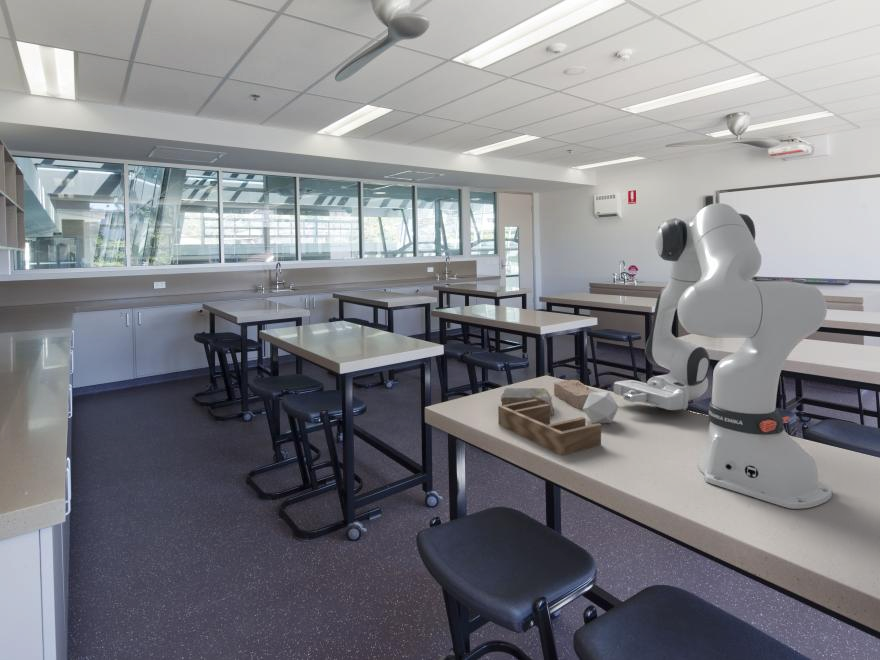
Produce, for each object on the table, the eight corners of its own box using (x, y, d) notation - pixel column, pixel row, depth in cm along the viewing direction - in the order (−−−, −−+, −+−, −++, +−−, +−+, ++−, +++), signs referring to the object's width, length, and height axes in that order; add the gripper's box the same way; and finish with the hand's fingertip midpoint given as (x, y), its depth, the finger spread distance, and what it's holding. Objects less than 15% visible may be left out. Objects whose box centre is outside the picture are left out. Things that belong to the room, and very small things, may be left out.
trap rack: (600, 444, 122) (601, 424, 121) (561, 455, 116) (561, 434, 116) (534, 416, 144) (534, 399, 143) (498, 424, 138) (498, 406, 137)
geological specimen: (500, 387, 157) (551, 385, 155) (502, 407, 157) (552, 405, 155) (499, 396, 146) (553, 394, 144) (501, 417, 147) (554, 415, 145)
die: (612, 431, 133) (628, 398, 134) (582, 414, 134) (598, 382, 135) (602, 432, 141) (617, 401, 143) (573, 416, 142) (589, 385, 143)
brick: (603, 407, 151) (604, 392, 151) (577, 410, 149) (578, 394, 149) (576, 393, 167) (576, 379, 167) (552, 395, 165) (552, 381, 165)
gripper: (633, 373, 157) (599, 379, 151) (693, 387, 139) (658, 395, 133) (632, 393, 158) (599, 400, 152) (692, 410, 140) (657, 418, 134)
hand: (627, 398), depth 142 cm, fingers closed
